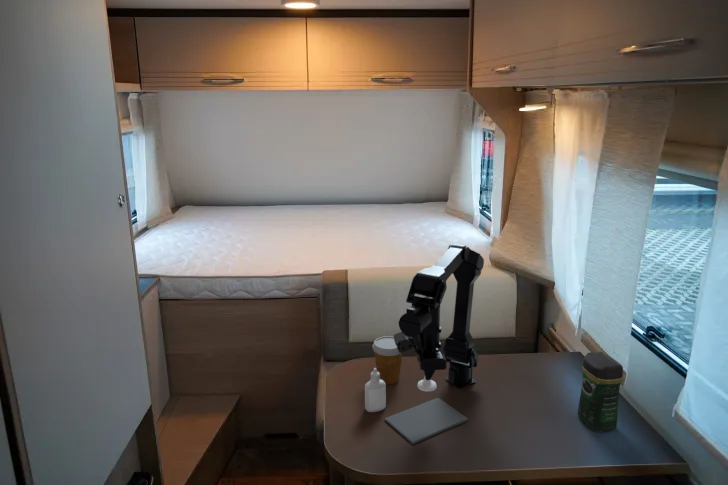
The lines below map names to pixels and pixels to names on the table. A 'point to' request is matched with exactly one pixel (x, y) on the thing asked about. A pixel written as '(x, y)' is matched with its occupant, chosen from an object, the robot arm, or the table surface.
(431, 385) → the chess piece
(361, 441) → the table surface
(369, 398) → the eye dropper bottle
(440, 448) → the table surface
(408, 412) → the slate mat
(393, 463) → the table surface
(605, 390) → the coffee jar
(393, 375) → the disposable coffee cup
